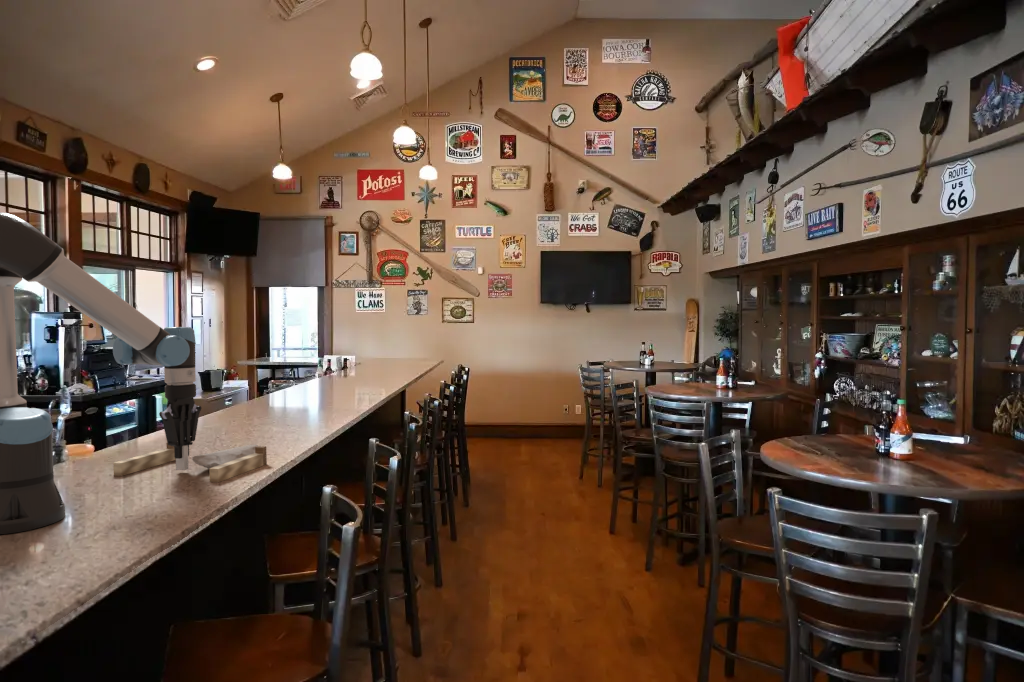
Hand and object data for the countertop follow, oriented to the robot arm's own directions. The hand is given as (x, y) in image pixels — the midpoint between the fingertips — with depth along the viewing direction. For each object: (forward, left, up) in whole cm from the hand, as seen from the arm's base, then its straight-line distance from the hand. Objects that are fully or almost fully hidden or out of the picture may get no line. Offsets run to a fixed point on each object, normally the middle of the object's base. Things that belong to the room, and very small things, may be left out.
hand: (182, 469), depth 170 cm
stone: (+12, -8, -1) cm, 14 cm away
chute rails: (+4, 0, -1) cm, 4 cm away
